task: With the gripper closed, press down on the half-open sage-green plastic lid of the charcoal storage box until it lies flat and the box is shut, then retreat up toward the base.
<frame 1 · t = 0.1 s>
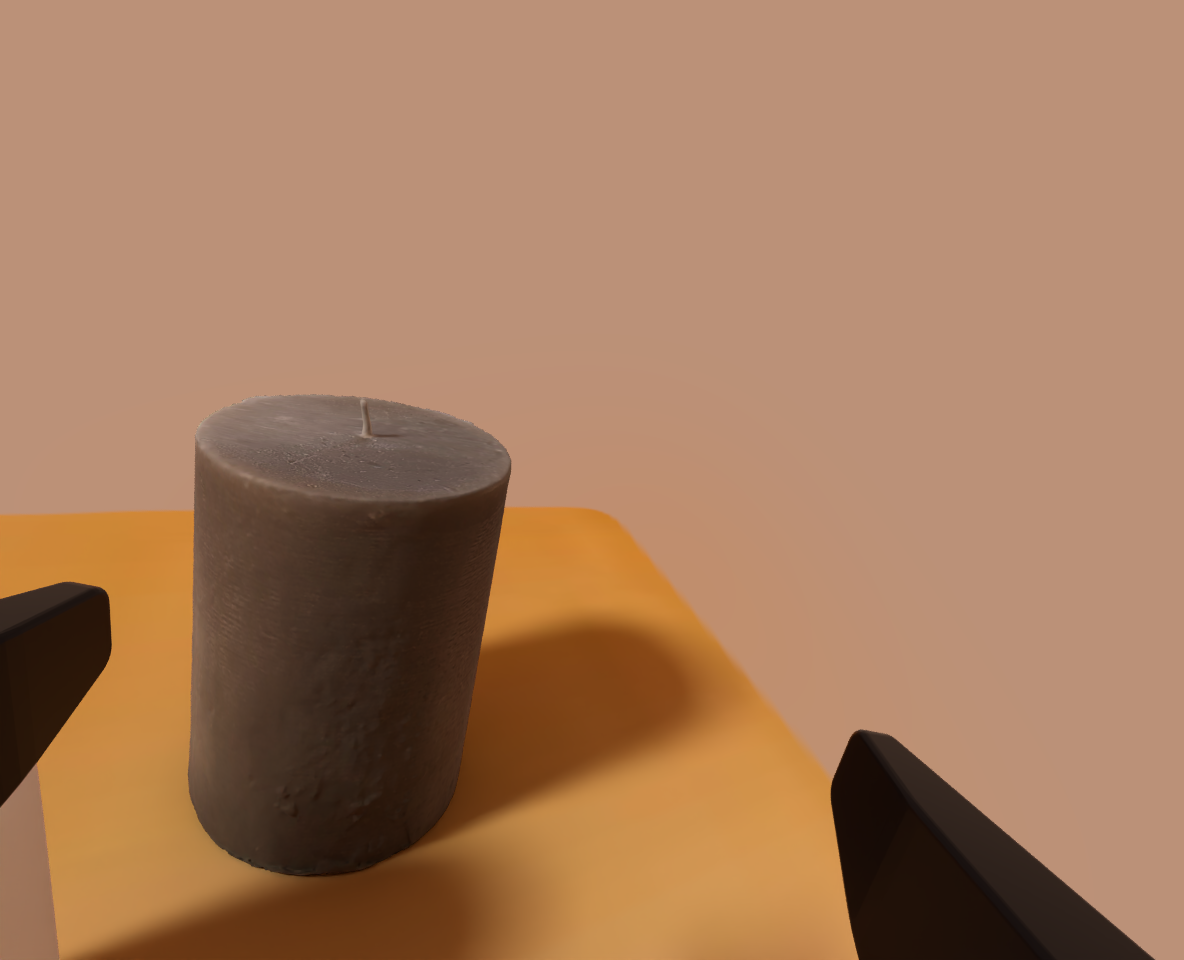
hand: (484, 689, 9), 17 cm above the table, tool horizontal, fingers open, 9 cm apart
pillar candle: (334, 768, 28), on the table
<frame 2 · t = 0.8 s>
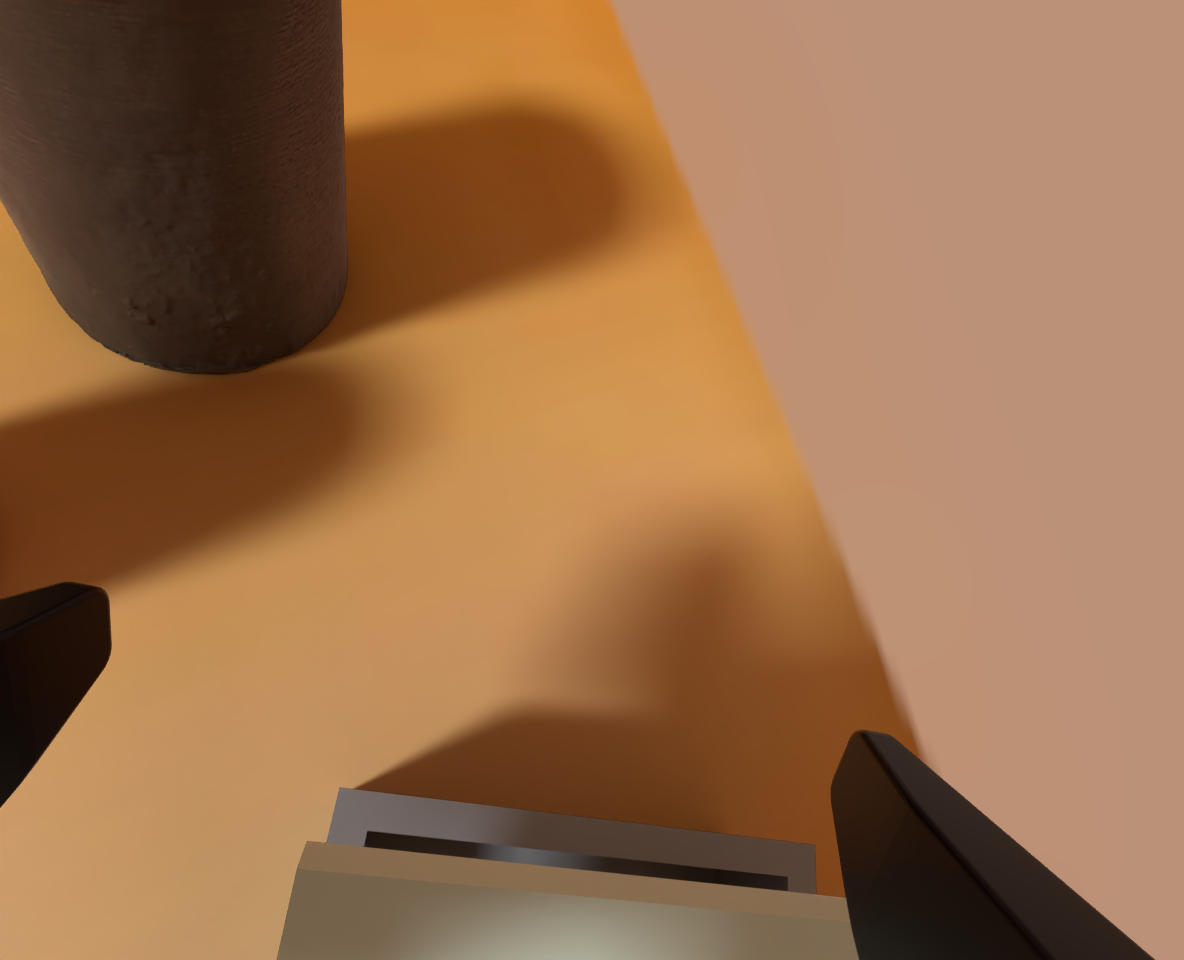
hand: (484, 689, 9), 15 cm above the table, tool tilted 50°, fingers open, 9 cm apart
pillar candle: (212, 264, 27), on the table
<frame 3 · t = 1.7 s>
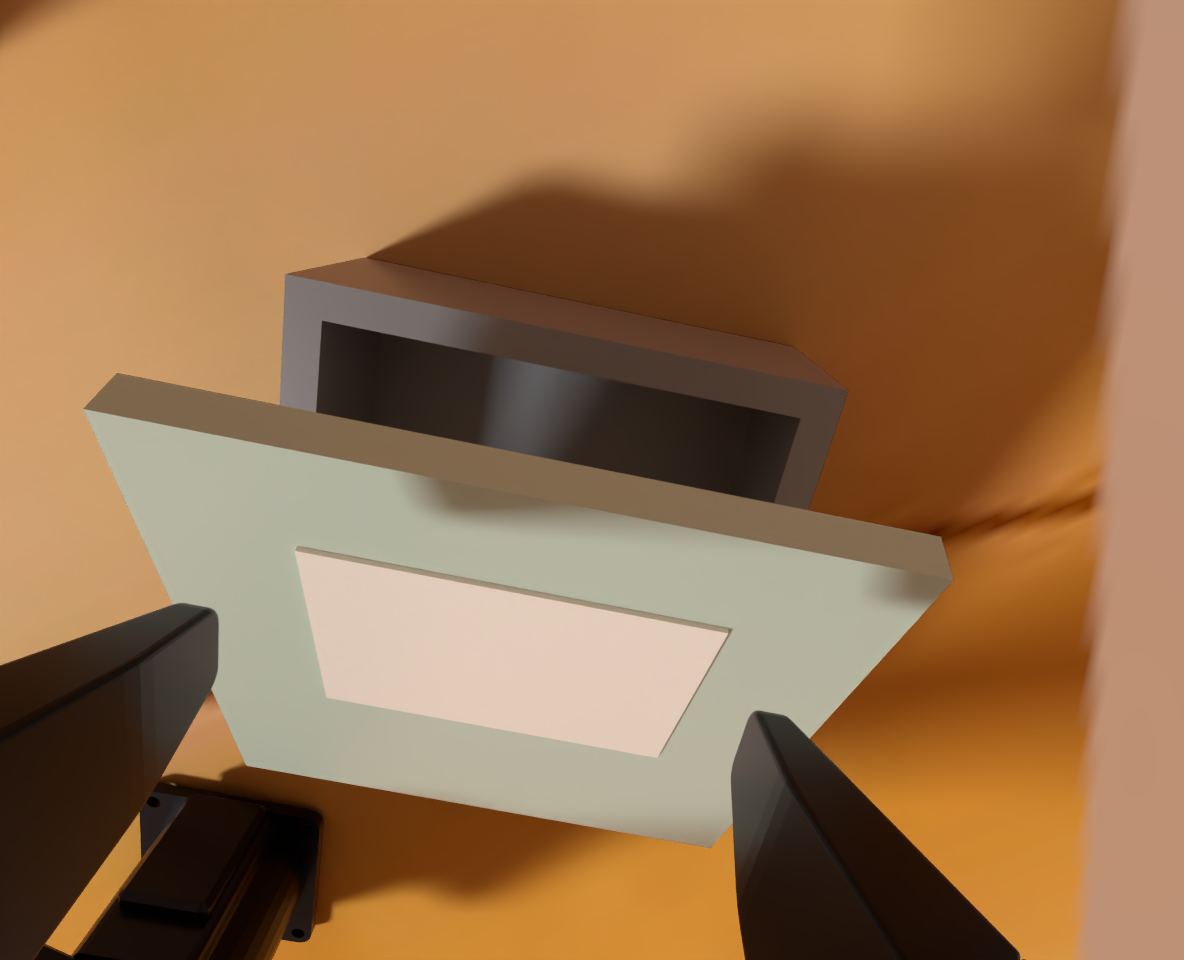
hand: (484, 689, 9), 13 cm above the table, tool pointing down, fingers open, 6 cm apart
storage box: (544, 500, 22), on the table
lid: (501, 683, 15), point 8 cm above the table, hinge at 25.0°
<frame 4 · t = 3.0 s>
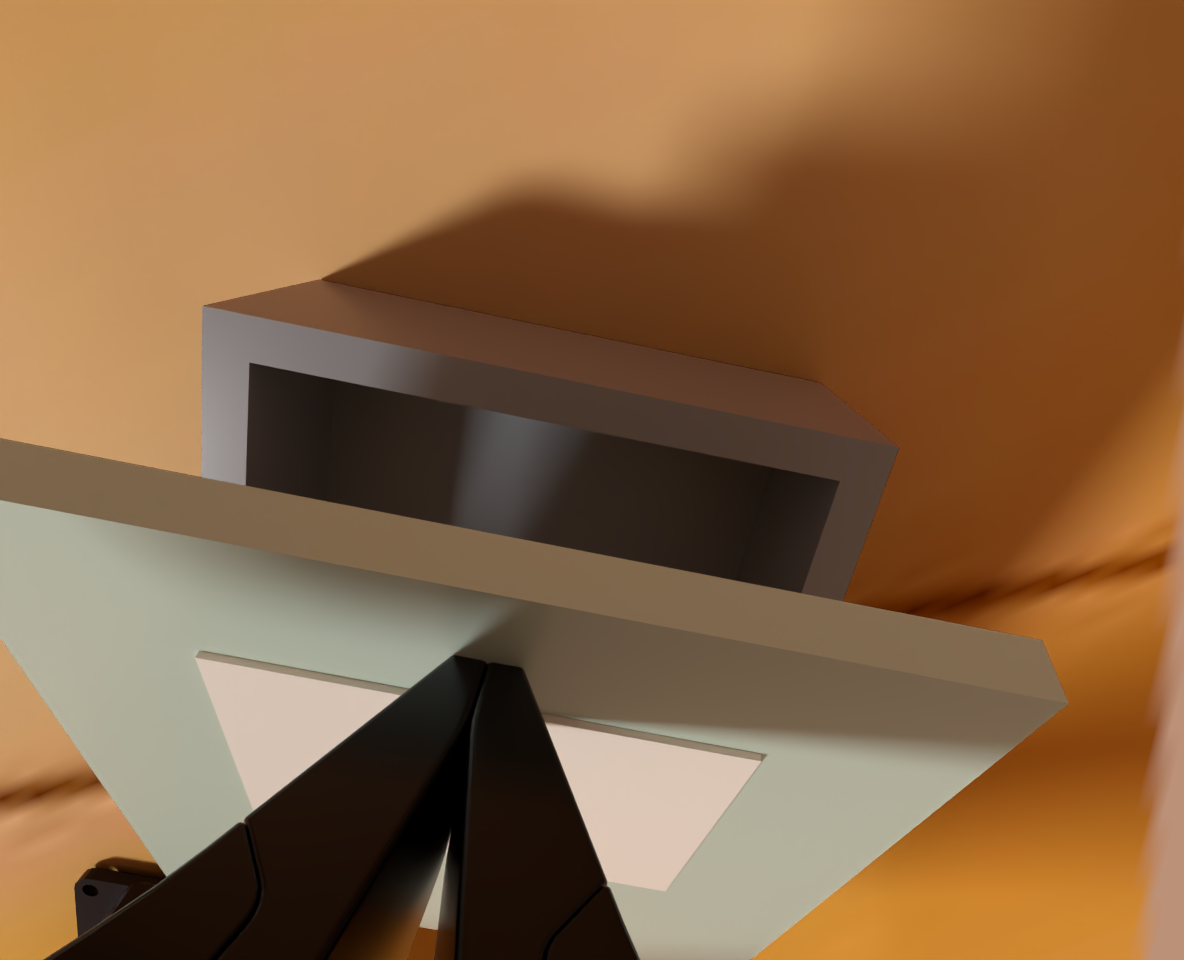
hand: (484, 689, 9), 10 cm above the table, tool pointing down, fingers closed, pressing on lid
storage box: (531, 557, 19), on the table
lid: (473, 803, 12), point 8 cm above the table, hinge at 22.7°, touching gripper
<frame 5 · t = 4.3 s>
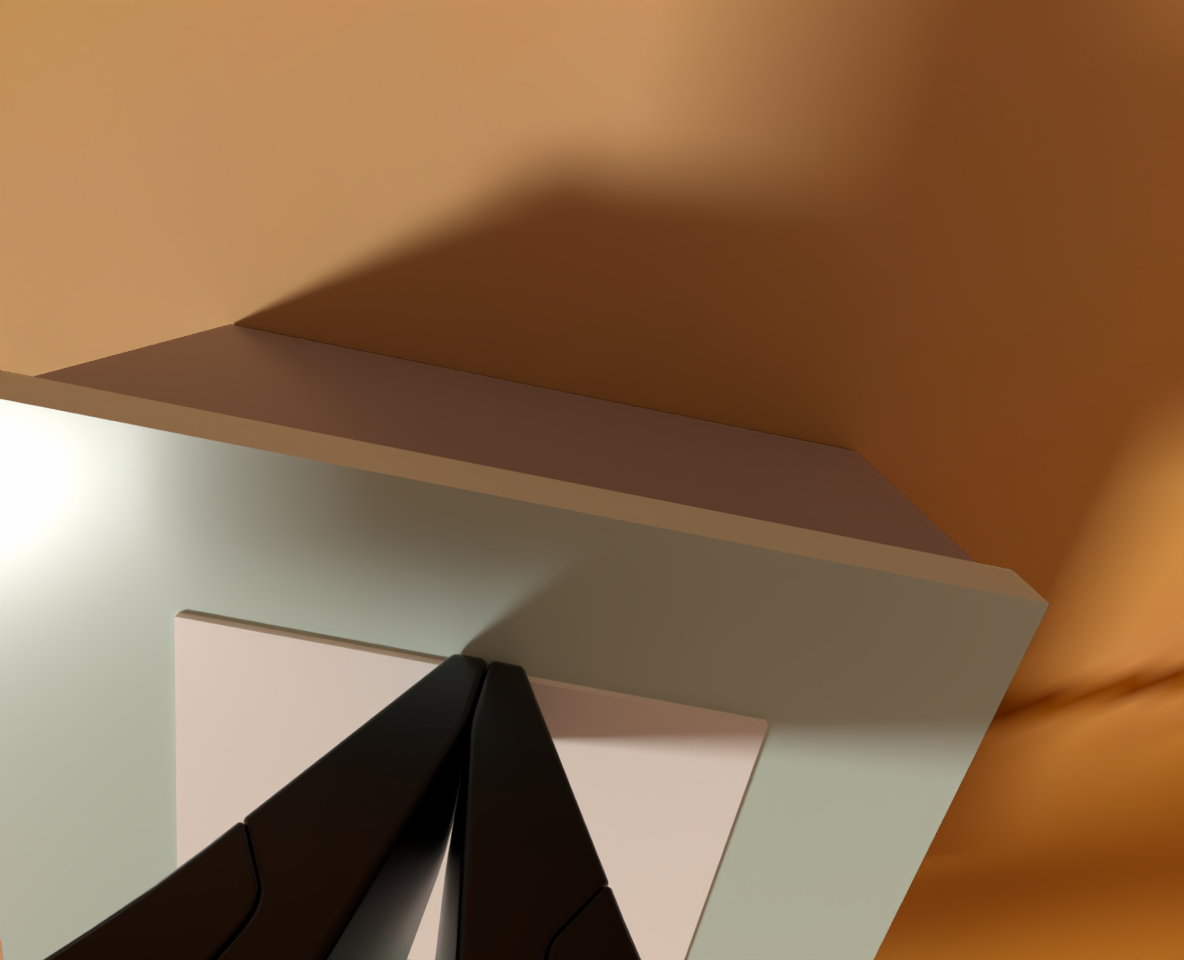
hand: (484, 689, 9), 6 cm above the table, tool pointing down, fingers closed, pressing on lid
storage box: (500, 656, 16), on the table
lid: (443, 878, 10), point 6 cm above the table, hinge at 1.3°, touching gripper
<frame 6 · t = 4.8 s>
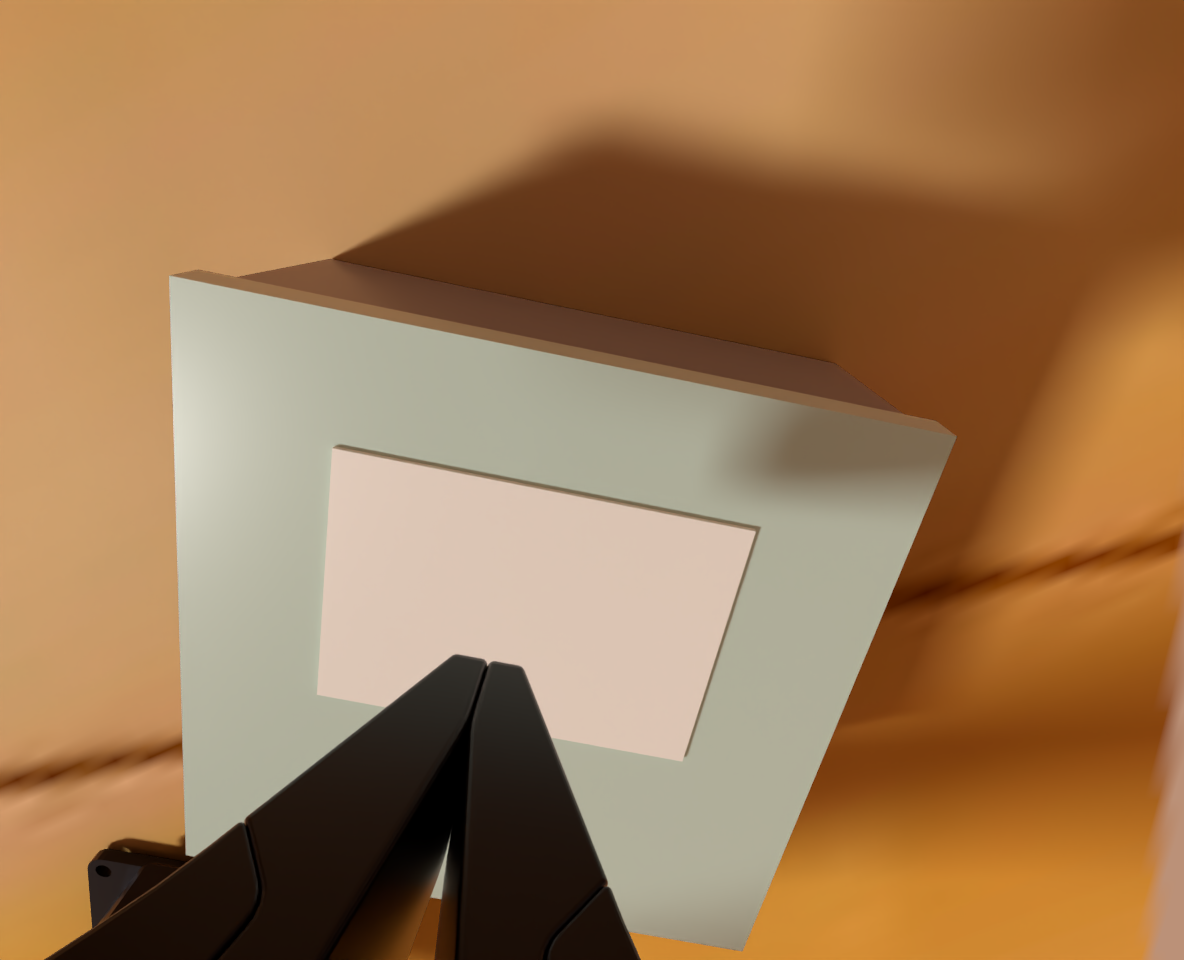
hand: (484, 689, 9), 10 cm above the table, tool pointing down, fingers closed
storage box: (542, 539, 19), on the table
lid: (513, 666, 14), point 6 cm above the table, hinge at 1.3°
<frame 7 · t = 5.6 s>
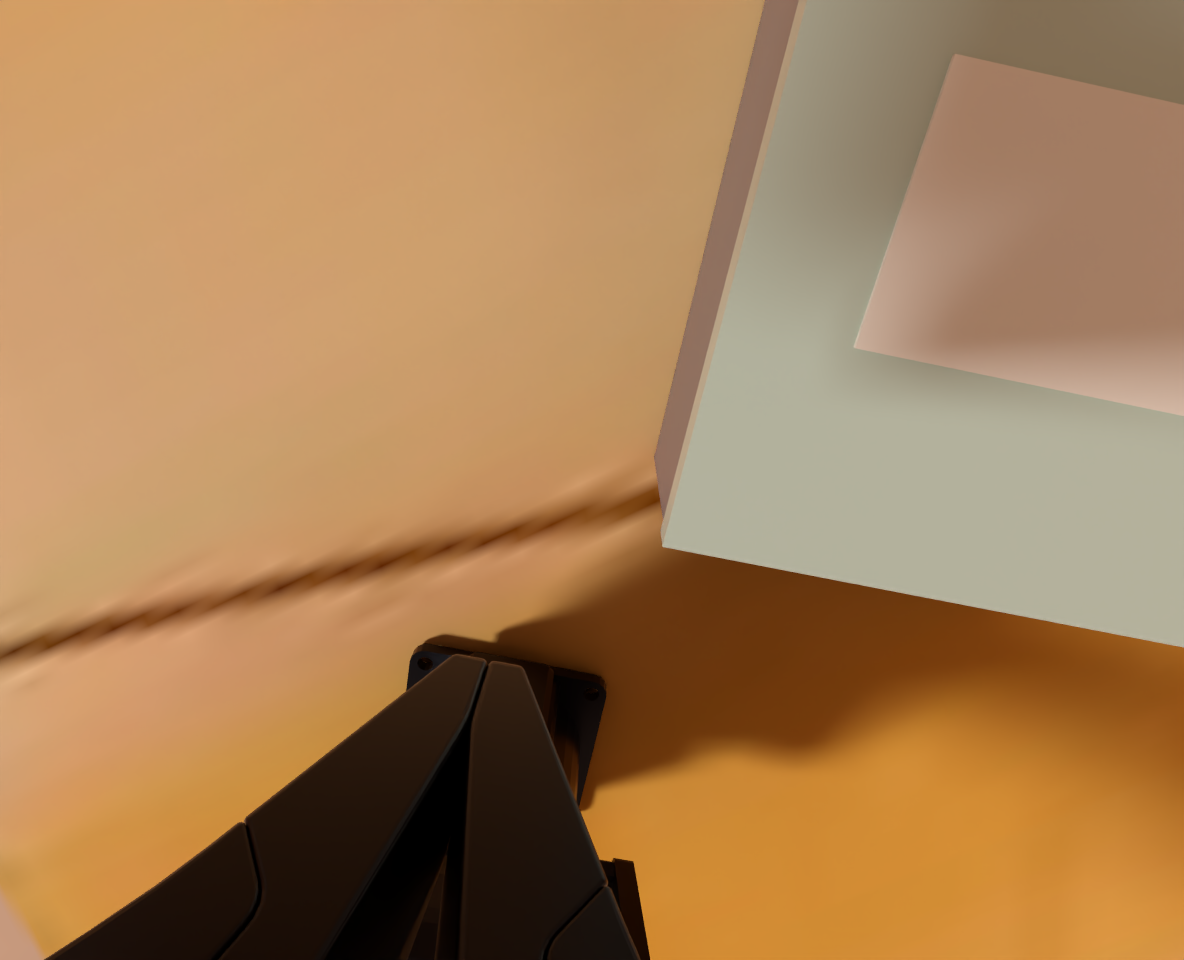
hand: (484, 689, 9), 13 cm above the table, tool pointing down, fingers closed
storage box: (923, 293, 19), on the table
lid: (1041, 324, 14), point 6 cm above the table, hinge at 1.3°
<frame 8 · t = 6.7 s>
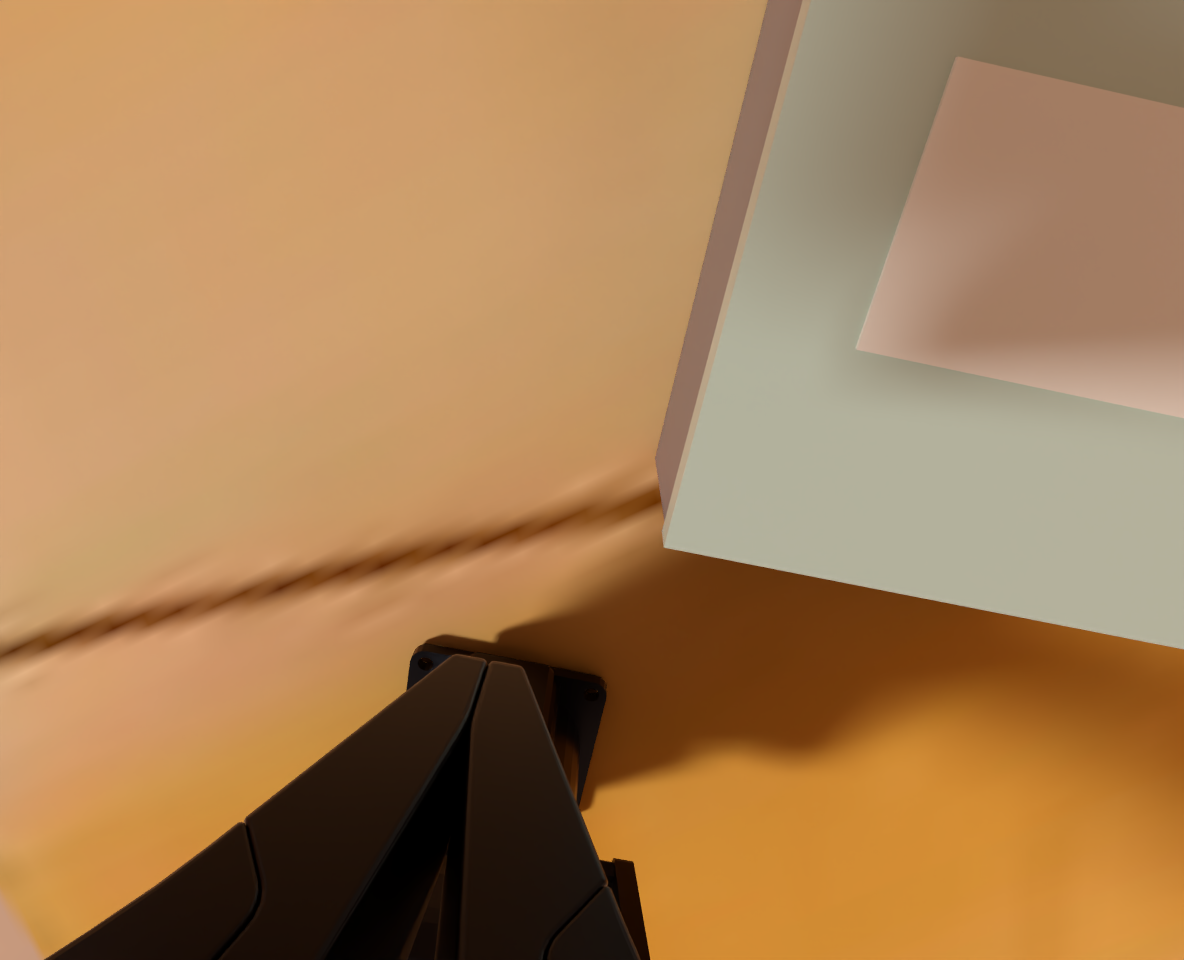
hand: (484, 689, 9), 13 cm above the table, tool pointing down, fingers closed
storage box: (924, 295, 19), on the table
lid: (1042, 326, 14), point 6 cm above the table, hinge at 1.3°
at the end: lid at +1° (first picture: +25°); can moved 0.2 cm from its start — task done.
